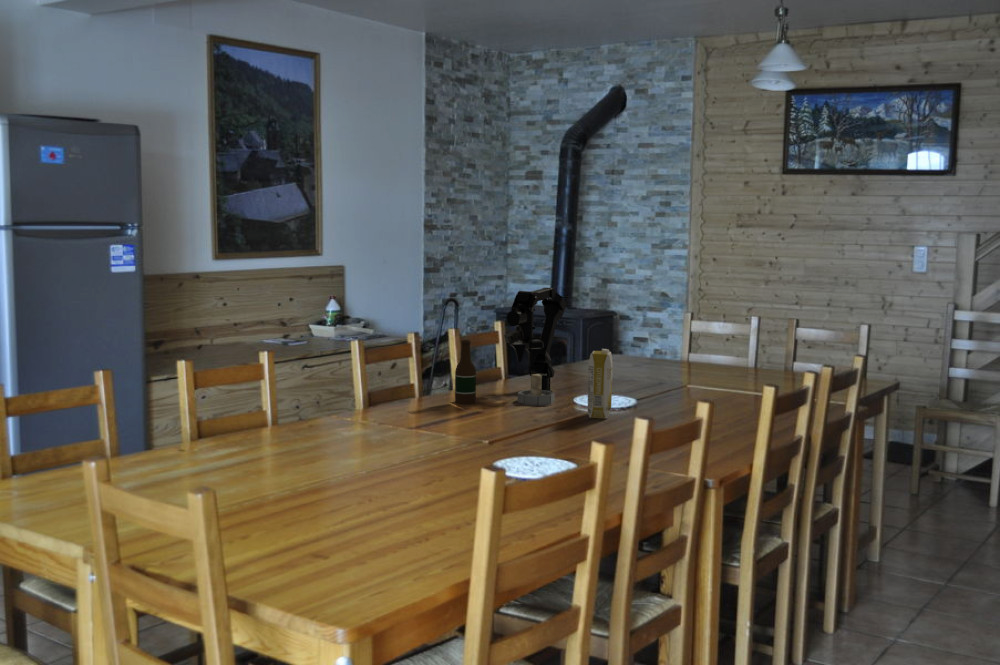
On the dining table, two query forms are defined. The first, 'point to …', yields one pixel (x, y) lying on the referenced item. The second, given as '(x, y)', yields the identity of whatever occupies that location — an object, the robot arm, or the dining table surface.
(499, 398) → the coaster
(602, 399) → the juice carton
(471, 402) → the beer bottle
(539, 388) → the square wooden post
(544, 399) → the bowl
